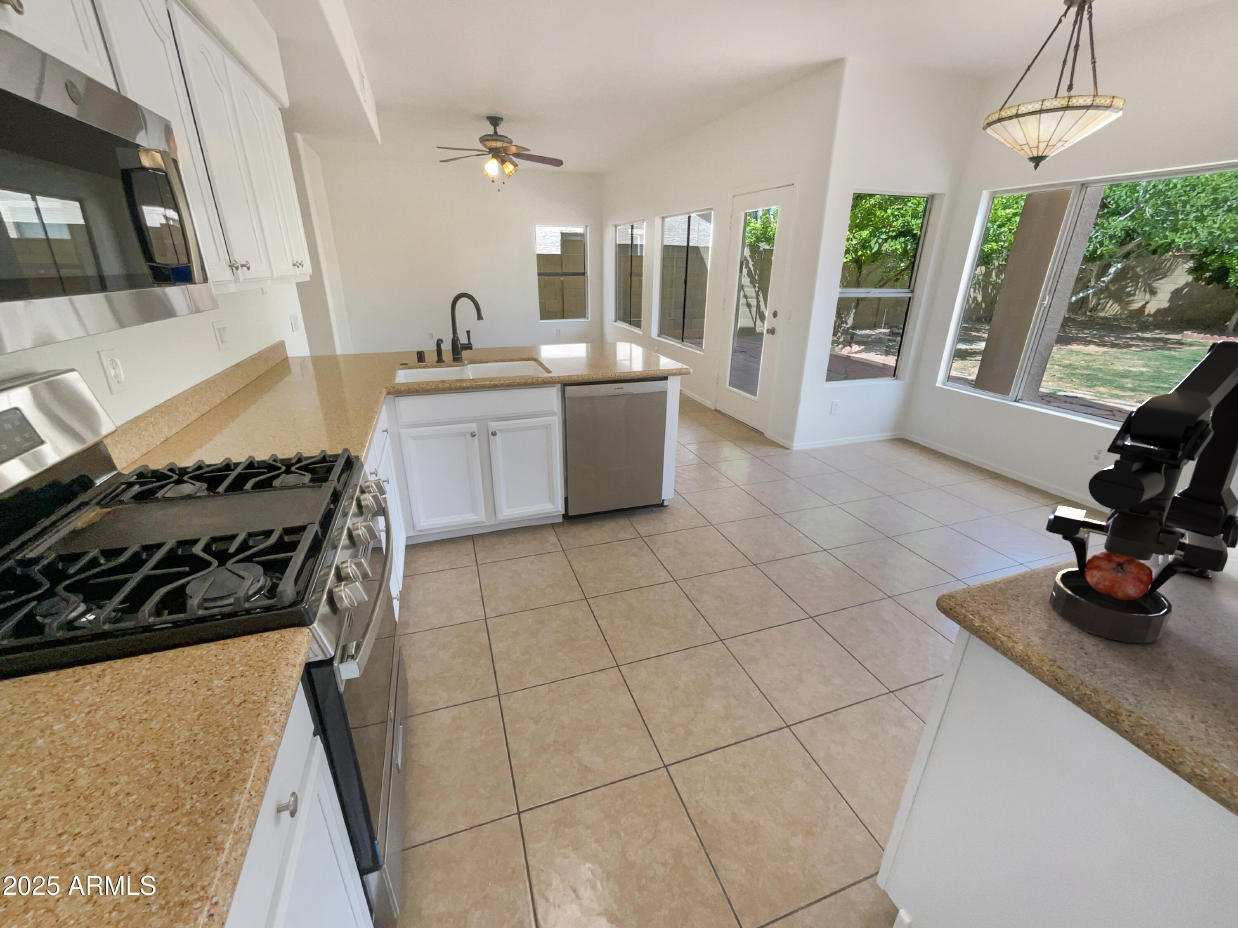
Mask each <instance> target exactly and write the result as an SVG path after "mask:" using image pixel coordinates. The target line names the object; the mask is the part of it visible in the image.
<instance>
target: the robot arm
mask: <svg viewBox="0 0 1238 928" xmlns="http://www.w3.org/2000/svg"><path fill="white" fill-rule="evenodd" d="M1127 441H1130V442H1131V443H1128V442H1127ZM1106 453H1110V454H1113V455H1119V458H1116V459H1114V462H1113V465H1111V466H1109V467H1106V468H1104V469H1101V470H1099V471H1097V472H1095V474H1093V475H1092V477H1091V478H1090V479H1089V482H1088V486H1087V487H1088V492H1089V494H1090V496H1091V497H1092V499H1093V500H1094V501H1095V502H1096V503H1097V504H1099V505H1100V506H1103V507H1105V508H1107V509H1110V510H1109V513H1108V515H1107V518H1106V522H1104V521H1099V520H1096V519H1095V520H1094V519H1090V518H1085V515H1086V512H1087V510H1082V509H1077V508H1073V507H1068V506H1063V505H1057V506H1055V507H1053V508H1052V510H1051V512H1050V514H1049V516H1048V520H1047V523H1046V527H1045V531H1047V532H1048V533H1051V534H1056V535H1060V536H1061V539H1062V540H1064V541H1066V542H1069V544H1071V547H1072V549H1073V550H1074V554H1075V560H1076V564H1077V568H1078V571H1079V576H1081V577H1083V574H1084V571H1085V567H1086V563H1087V561H1088V551H1089V546H1090V545H1089V544H1090V535H1091V533H1092V534H1096V535H1101V536H1105V537H1106V539H1105V542H1104V544H1103V545H1104V546H1103V548H1104V550H1105V551H1108V552H1110V553H1113V554H1122V555H1126V556H1130V557H1134V558H1135V559H1138V560H1140V561H1143V562H1144V561H1145V562H1146V561H1150V560H1151V559H1152V558H1153V554H1155V555H1158V561H1157V566H1158V567H1157V569H1156V571H1155V573H1154V575H1153V577H1152V578H1153V580H1152V582H1151V583H1150V586H1149V588H1148V592H1147V595H1152V594H1153V593H1154V592H1155V591H1158V590H1159V589H1160V588H1161V587H1162V586H1163V585H1165V584H1166V583H1167V582H1168V581H1169V580H1170V579H1171V578H1173V577H1174V576H1176V575H1177V574H1179V573H1183V574H1187V575H1191V576H1196V577H1200V578H1202V579H1203V578H1204V579H1208V580H1210V579H1211V580H1212V577H1213V572H1216V573H1221V572H1224V569H1225V567H1226V565H1227V562H1228V558H1229V552H1228V549H1236V547H1237V546H1238V515H1237V512H1238V498H1237V496H1236V495H1235V493H1234V491H1233V489H1232V488H1231V486H1232V482H1233V479H1234V476H1235V474H1236V471H1237V469H1238V340H1231V339H1222V340H1219V341H1214V342H1212V343H1211V344H1210V346H1209V347H1208V349H1207V351H1206V354H1205V356H1204V358H1202V360H1200V362H1199V363H1198V364H1197V365H1195V366H1194V368H1193V369H1192V370H1191V371H1190V372H1189V373H1188V374H1187V375H1186V376H1185V377H1184V378H1183V379H1182V380H1181V381H1180V382H1179V383H1178V384H1177V385H1176V386H1175V387H1174V388H1173V389H1172V390H1171V391H1169V392H1167V393H1163V394H1158V395H1155V396H1151V397H1149V398H1148V399H1147V400H1145V401H1144V402H1142V404H1140V405H1139V406H1138V407H1137V408H1135V409H1133V410H1131V411H1130V412H1129V413H1128V414H1127V416H1126V418H1125V419H1124V421H1123V422H1122V424H1121V426H1120V428H1119V430H1118V431H1117V433H1115V436H1114V438H1113V439H1112V441H1111V442H1110V444H1109V446H1108V448H1107V449H1106ZM1189 462H1195V465H1194V467H1193V471H1192V474H1191V477H1190V480H1189V483H1188V485H1187V486H1186V487H1184V488H1182V489H1181V490H1180V491H1178V492H1176V489H1177V487H1178V483H1179V481H1180V478H1181V476H1182V472H1183V469H1184V467H1185V466H1187V465H1188V464H1189ZM1175 492H1176V493H1175Z"/></svg>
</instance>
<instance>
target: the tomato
mask: <svg viewBox="0 0 1238 928" xmlns="http://www.w3.org/2000/svg"><path fill="white" fill-rule="evenodd" d="M1085 570H1086V572H1085V577H1086V579H1087V581H1088V582H1089V584H1090V585H1091V586H1092V587H1093V588H1094V589H1095V590H1097V591H1098V592H1100V593H1102V594H1106V595H1110V596H1112V597H1115V598H1118V599H1121V600H1133V599H1136V598H1139V597H1141V596H1142V595H1144V594H1145V593H1146V592H1147V590H1148V588H1149V586H1150V583H1151V582H1152V580H1153V577H1154V575H1153V574H1154V573H1153V570H1152V568H1151V566H1149V565H1148V564H1147V563H1146V562H1144V561H1143V560H1138V559H1135V558H1134V557H1130V556H1126V555H1122V554H1113V553H1110V552H1108V551H1106V550H1105V551H1104V550H1103V551H1101V552H1099V553H1096V554H1093V555H1091V556H1090V557H1089V558H1087V562H1086V567H1085Z"/></svg>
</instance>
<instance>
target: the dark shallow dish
mask: <svg viewBox="0 0 1238 928" xmlns="http://www.w3.org/2000/svg"><path fill="white" fill-rule="evenodd" d="M1085 572H1086V570H1085V571H1084V574H1083V577H1081V576H1079V571H1078V567H1073V568H1066V569H1063V570H1060V571H1059V572H1057V573H1056V576H1055V579H1054V582H1053V586H1052V589H1051V592H1050V597H1049V599H1048V603H1049V604H1050V607H1051V609H1052V610H1053V611H1054V612H1055V613H1056V614H1057V615H1058V616H1059V617H1060V618H1062V619H1064V620H1065V621H1067V622H1068V623H1070V624H1071V625H1073V626H1076V627H1077V628H1080V629H1082V630H1084V631H1085V632H1088V633H1091V634H1094V635H1097V636H1100V637H1103V638H1106V639H1109V640H1115V641H1119V642H1124V643H1133V644H1134V643H1135V644H1146V643H1147V644H1148V643H1153V642H1157V641H1158V640H1159V639H1162V637H1163V636H1164V633H1165V631H1166V629H1167V627H1168V623H1169V620H1170V618H1171V615H1172V613H1173V604H1172V603H1171V602H1170V600H1169V599H1168V598H1167V597H1166V596H1165V595H1164V594H1162V593H1161V592H1160V591H1158V590H1156V591H1155V592H1154V593H1153V594H1152V595H1147V592H1148V590H1147V592H1146V593H1145V594H1144V595H1142V596H1141V597H1139V598H1136V599H1133V600H1121V599H1118V598H1115V597H1112V596H1110V595H1106V594H1102V593H1100V592H1098V591H1097V590H1095V589H1094V588H1093V587H1092V586H1091V585H1090V584H1089V582H1088V581H1087V579H1086V577H1085Z"/></svg>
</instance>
